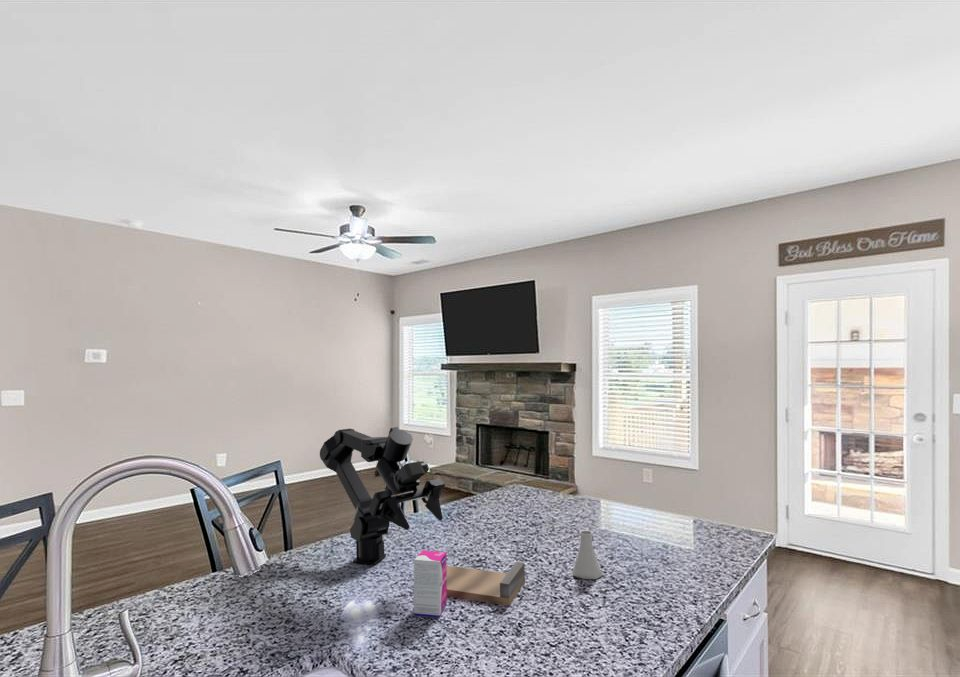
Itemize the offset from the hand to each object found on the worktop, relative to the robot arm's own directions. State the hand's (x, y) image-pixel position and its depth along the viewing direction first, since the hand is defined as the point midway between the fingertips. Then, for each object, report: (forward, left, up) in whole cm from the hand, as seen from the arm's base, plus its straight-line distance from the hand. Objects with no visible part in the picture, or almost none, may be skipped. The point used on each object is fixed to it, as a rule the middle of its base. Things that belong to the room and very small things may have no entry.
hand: (425, 523), depth 118 cm
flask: (+33, +20, -15) cm, 42 cm away
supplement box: (+5, -8, -15) cm, 18 cm away
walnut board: (+10, +5, -15) cm, 19 cm away
